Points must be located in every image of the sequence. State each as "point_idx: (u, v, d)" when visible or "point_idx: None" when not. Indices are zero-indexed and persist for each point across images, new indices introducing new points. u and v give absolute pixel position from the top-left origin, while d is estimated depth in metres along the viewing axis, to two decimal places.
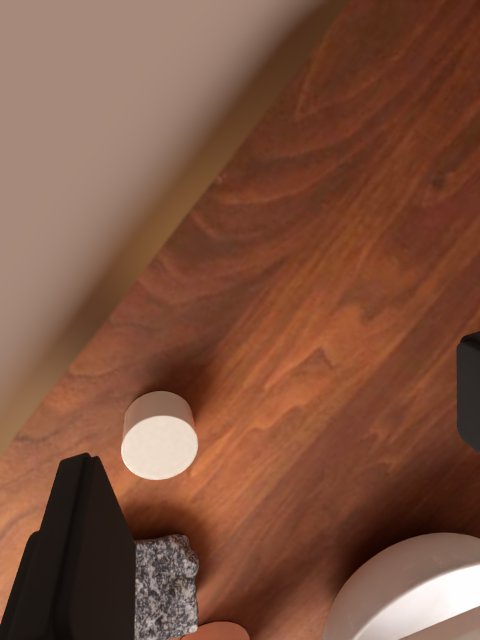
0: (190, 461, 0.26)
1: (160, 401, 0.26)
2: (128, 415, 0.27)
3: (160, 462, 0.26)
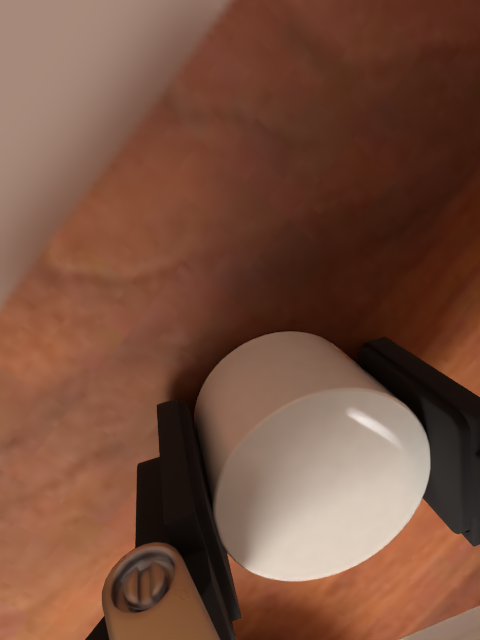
0: (400, 526, 0.09)
1: (312, 352, 0.09)
2: (218, 393, 0.09)
3: (322, 534, 0.09)
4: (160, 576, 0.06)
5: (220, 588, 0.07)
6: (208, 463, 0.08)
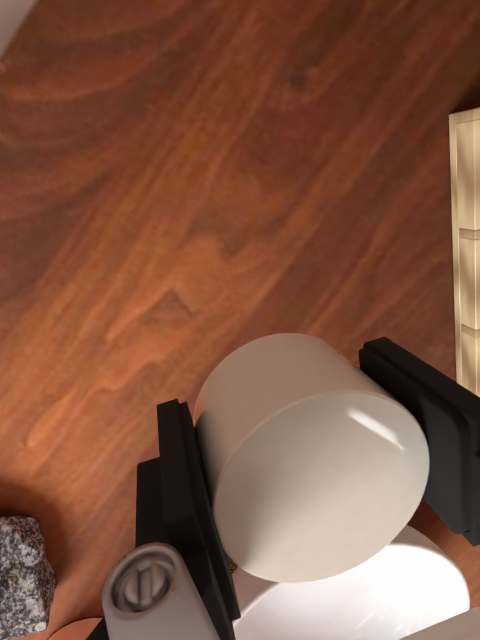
0: (399, 528, 0.09)
1: (311, 354, 0.09)
2: (217, 395, 0.09)
3: (321, 535, 0.09)
4: (160, 576, 0.06)
5: (220, 588, 0.07)
6: (207, 465, 0.08)
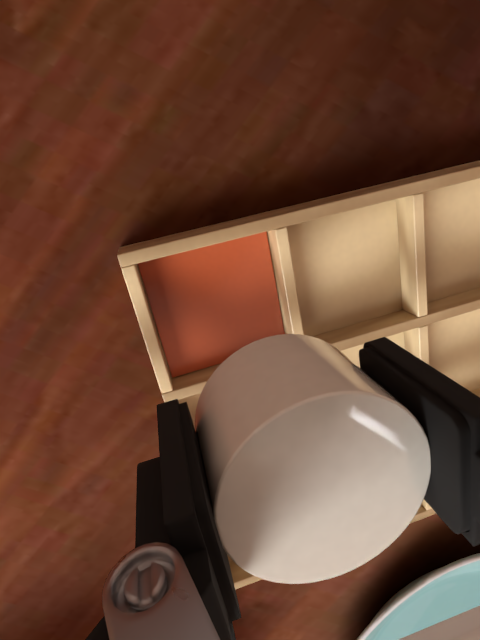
0: (401, 529, 0.09)
1: (312, 355, 0.09)
2: (219, 396, 0.09)
3: (322, 536, 0.09)
4: (160, 576, 0.06)
5: (220, 588, 0.07)
6: (209, 466, 0.08)
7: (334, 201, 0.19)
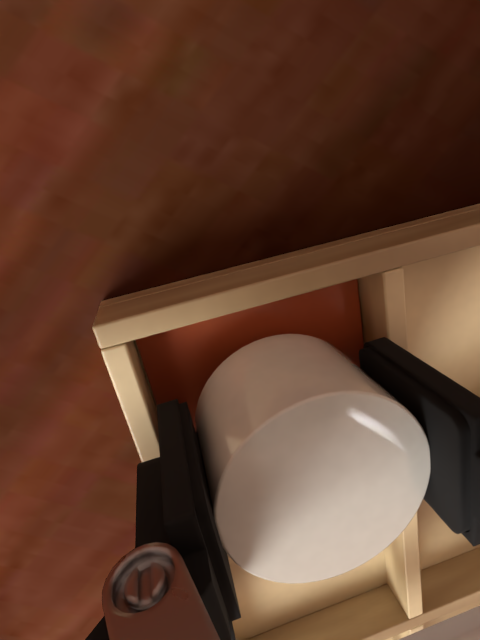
0: (401, 529, 0.09)
1: (312, 355, 0.09)
2: (219, 396, 0.09)
3: (322, 536, 0.09)
4: (160, 576, 0.06)
5: (220, 588, 0.07)
6: (209, 466, 0.08)
7: None
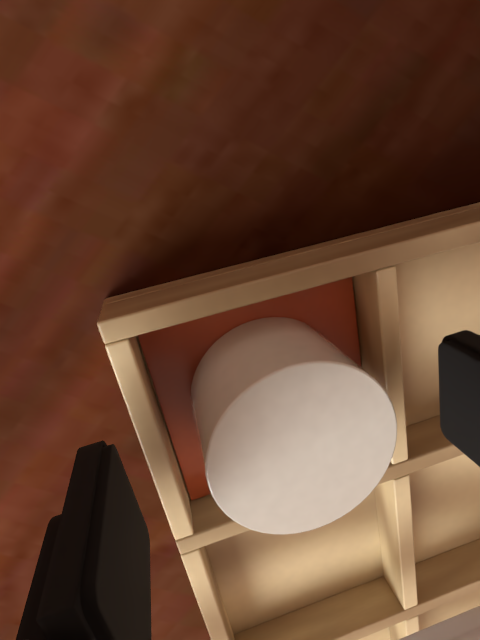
0: (371, 487, 0.10)
1: (293, 334, 0.10)
2: (211, 370, 0.10)
3: (301, 491, 0.10)
4: None
5: None
6: (202, 429, 0.10)
7: (476, 221, 0.11)
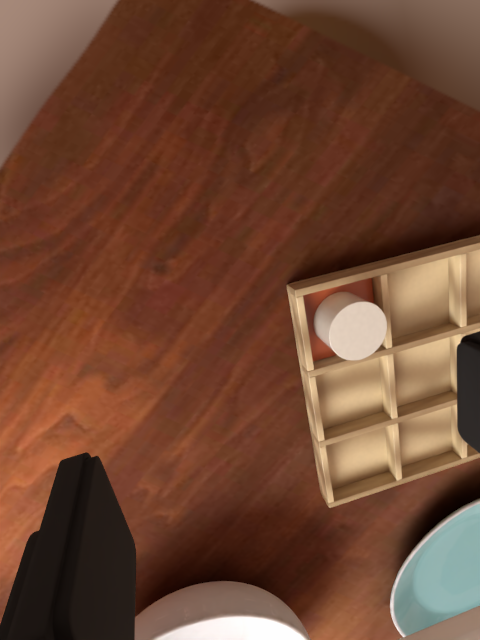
0: (378, 345, 0.31)
1: (353, 295, 0.32)
2: (325, 307, 0.32)
3: (356, 344, 0.31)
4: None
5: None
6: (325, 323, 0.31)
7: (414, 259, 0.32)
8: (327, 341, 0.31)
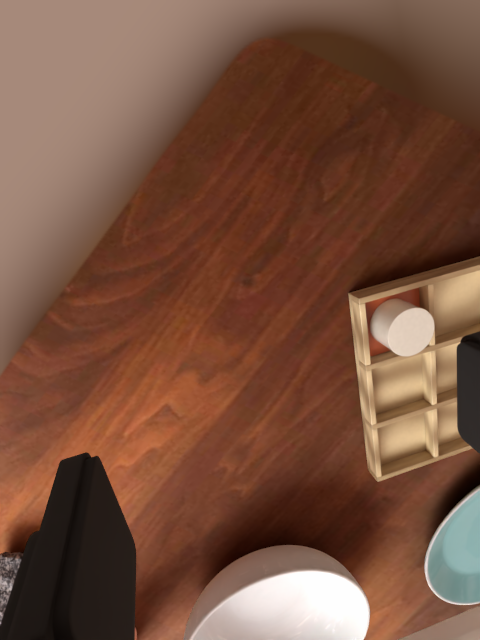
0: (427, 344, 0.38)
1: (405, 302, 0.38)
2: (382, 312, 0.38)
3: (409, 343, 0.37)
4: None
5: None
6: (384, 326, 0.37)
7: (456, 271, 0.38)
8: (385, 340, 0.37)
